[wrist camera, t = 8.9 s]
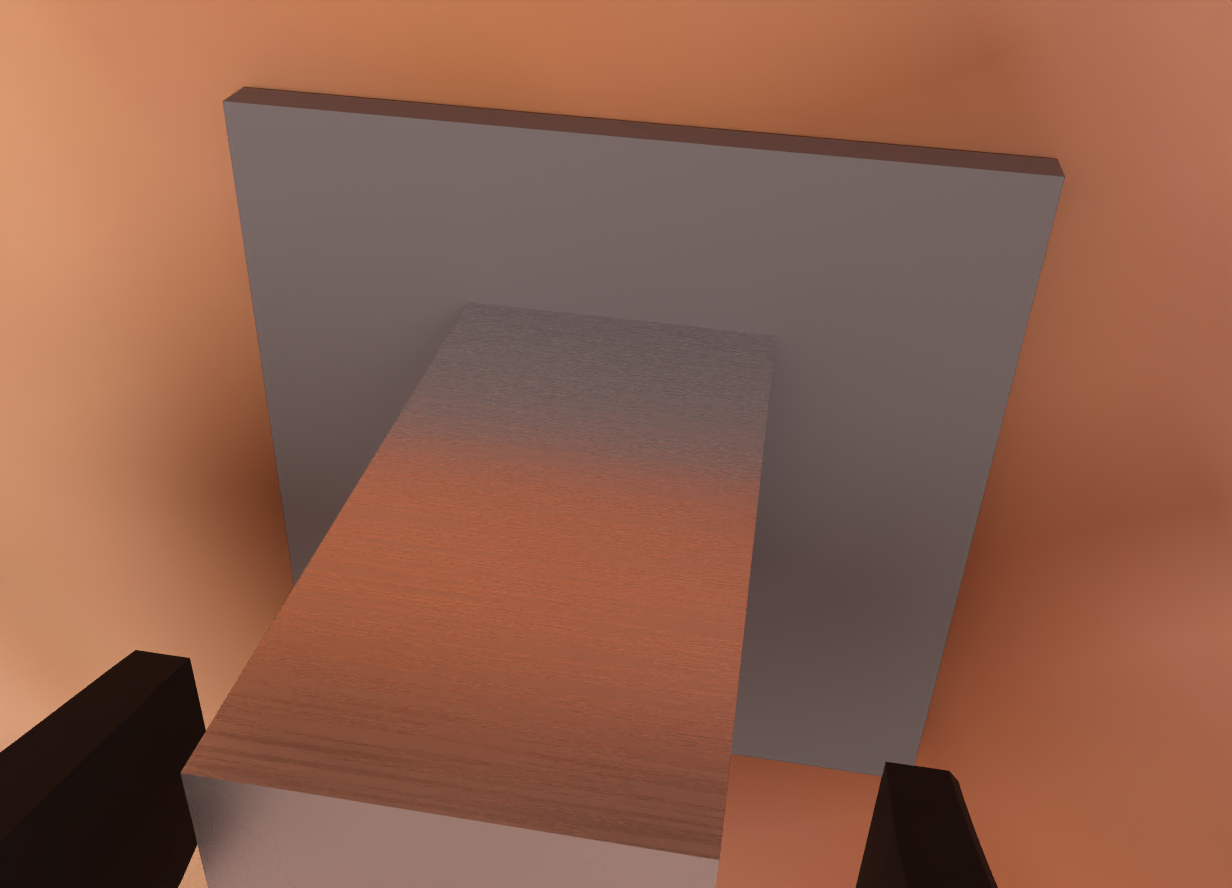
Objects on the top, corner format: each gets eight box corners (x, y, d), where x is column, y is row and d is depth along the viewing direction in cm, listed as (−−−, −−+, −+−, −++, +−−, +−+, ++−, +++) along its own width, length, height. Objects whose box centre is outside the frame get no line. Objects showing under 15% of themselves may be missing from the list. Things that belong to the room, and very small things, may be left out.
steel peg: (774, 335, 15) (718, 859, 8) (744, 579, 17) (680, 1148, 10) (468, 301, 15) (180, 773, 9) (476, 543, 18) (251, 1067, 11)
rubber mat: (1057, 158, 14) (1065, 176, 13) (908, 752, 19) (910, 780, 19) (243, 87, 15) (223, 101, 14) (322, 666, 20) (309, 690, 20)
